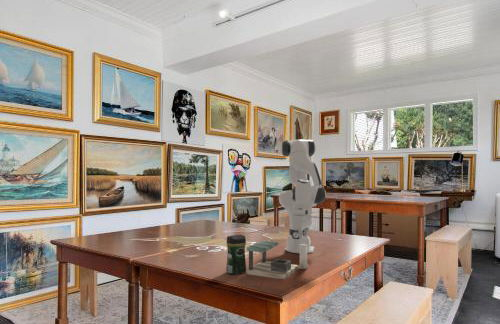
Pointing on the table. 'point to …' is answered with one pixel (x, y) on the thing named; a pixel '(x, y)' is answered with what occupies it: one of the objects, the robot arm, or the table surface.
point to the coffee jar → (236, 254)
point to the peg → (303, 256)
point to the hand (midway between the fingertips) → (303, 236)
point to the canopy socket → (266, 268)
